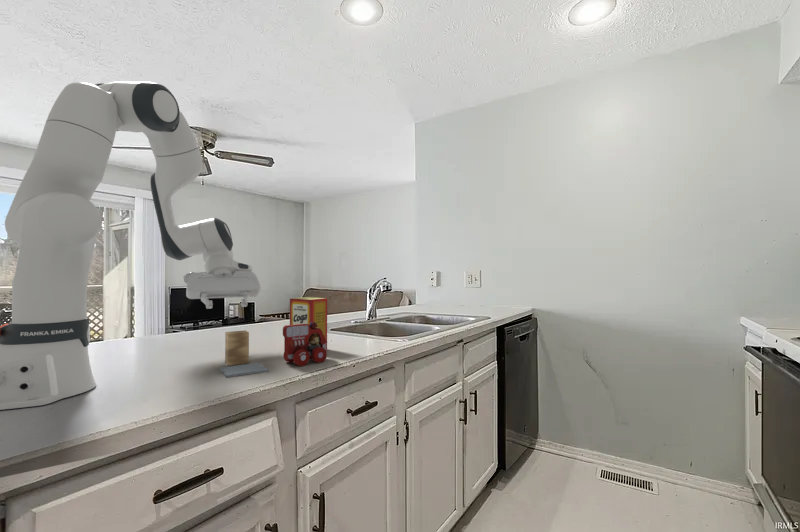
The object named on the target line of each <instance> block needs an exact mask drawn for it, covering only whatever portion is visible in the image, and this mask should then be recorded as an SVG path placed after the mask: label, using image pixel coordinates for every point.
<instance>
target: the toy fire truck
mask: <svg viewBox="0 0 800 532" xmlns="http://www.w3.org/2000/svg"><path fill="white" fill-rule="evenodd" d="M316 327H317V324H316V323H315V322H311V323H310V325H308V324H296V325H290V324H287V325H284V326H283V328H282V336H283V339H284V346H283V347H284V348H283V349H284V352H283V359H284V361H285V362H287V363H289V364H293V363H294V364H295V365H296V366H299V367H304V366H306V365H307V364H308V363H309V360H312V361H313V363H318V364H321V363H324V362H325V360H326V358H327V356H328V354H327V350H328V340H327V341H326V339H325V337H324V335H323V332H322V330H321V329H320V328H316ZM315 333H316V334H317V335H316V334H315ZM318 343H319V344H318ZM309 344H311V345H309Z"/></svg>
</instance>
